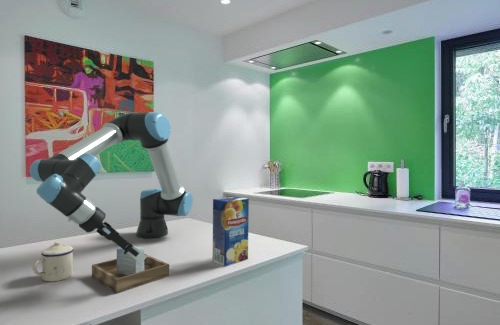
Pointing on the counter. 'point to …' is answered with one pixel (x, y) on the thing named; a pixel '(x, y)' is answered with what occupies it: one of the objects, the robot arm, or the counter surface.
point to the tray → (120, 283)
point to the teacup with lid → (56, 262)
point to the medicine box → (128, 262)
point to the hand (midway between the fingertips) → (136, 254)
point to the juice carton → (230, 230)
